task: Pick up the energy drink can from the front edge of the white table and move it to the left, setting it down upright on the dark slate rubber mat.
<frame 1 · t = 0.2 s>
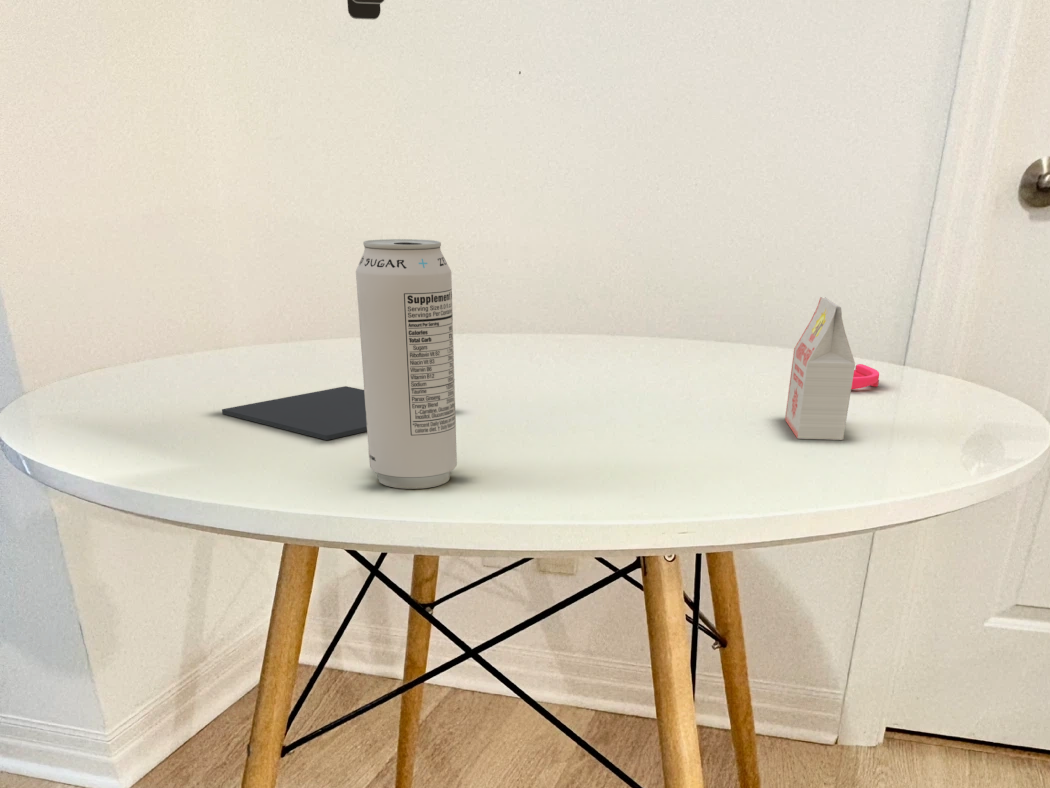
hand: (366, 11, 66), 28 cm above the table, tool pointing down, fingers open, 8 cm apart
energy drink can: (414, 481, 70), on the table
milk carton: (812, 431, 85), on the table
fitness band: (843, 385, 103), on the table
slate mat: (337, 413, 88), on the table
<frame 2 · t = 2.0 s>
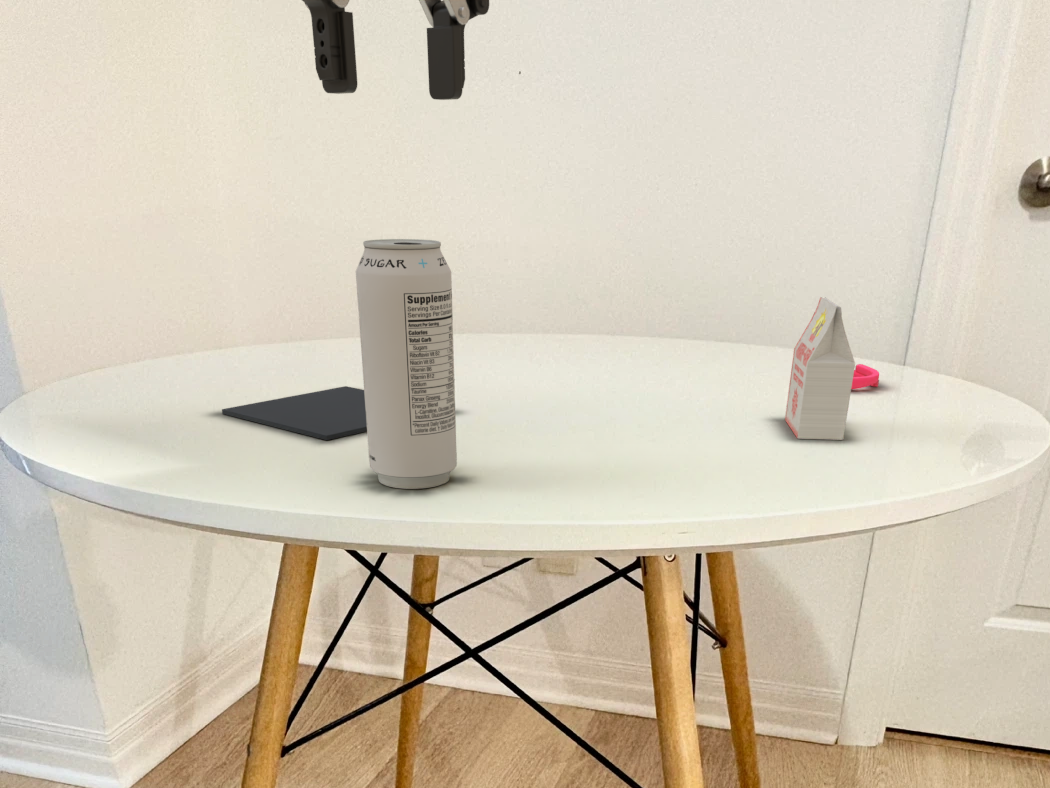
hand: (395, 96, 59), 23 cm above the table, tool pointing down, fingers open, 8 cm apart
nothing on the table moved.
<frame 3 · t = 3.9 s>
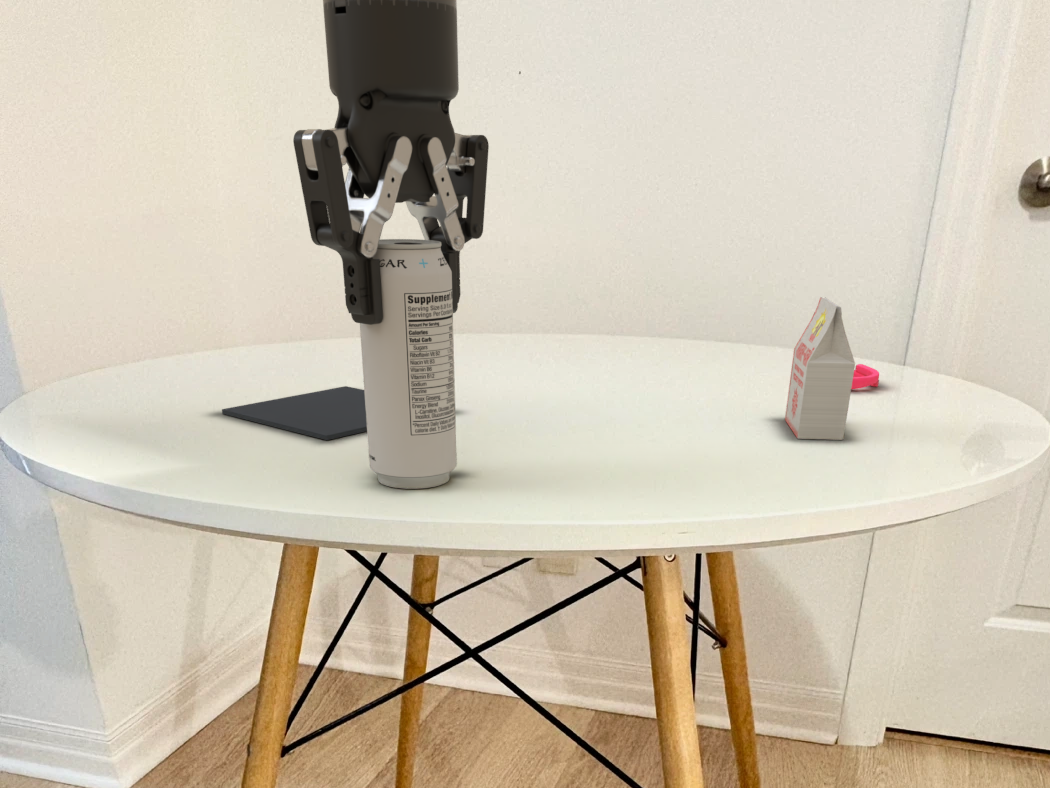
hand: (405, 316, 65), 11 cm above the table, tool pointing down, fingers closed on energy drink can, 6 cm apart
energy drink can: (414, 481, 70), on the table, touching gripper
everything else where it was.
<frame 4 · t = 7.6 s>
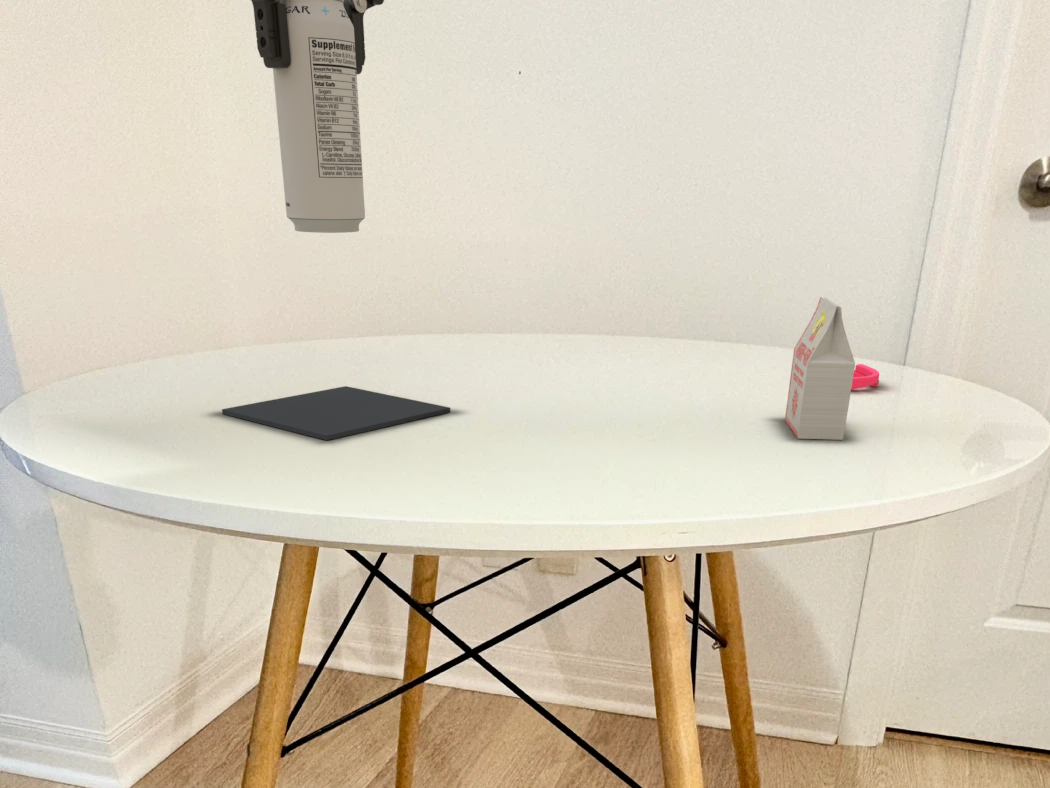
hand: (314, 70, 73), 25 cm above the table, tool pointing down, fingers closed on energy drink can, 6 cm apart
energy drink can: (327, 233, 79), point 14 cm above the table, touching gripper
everything else where it was.
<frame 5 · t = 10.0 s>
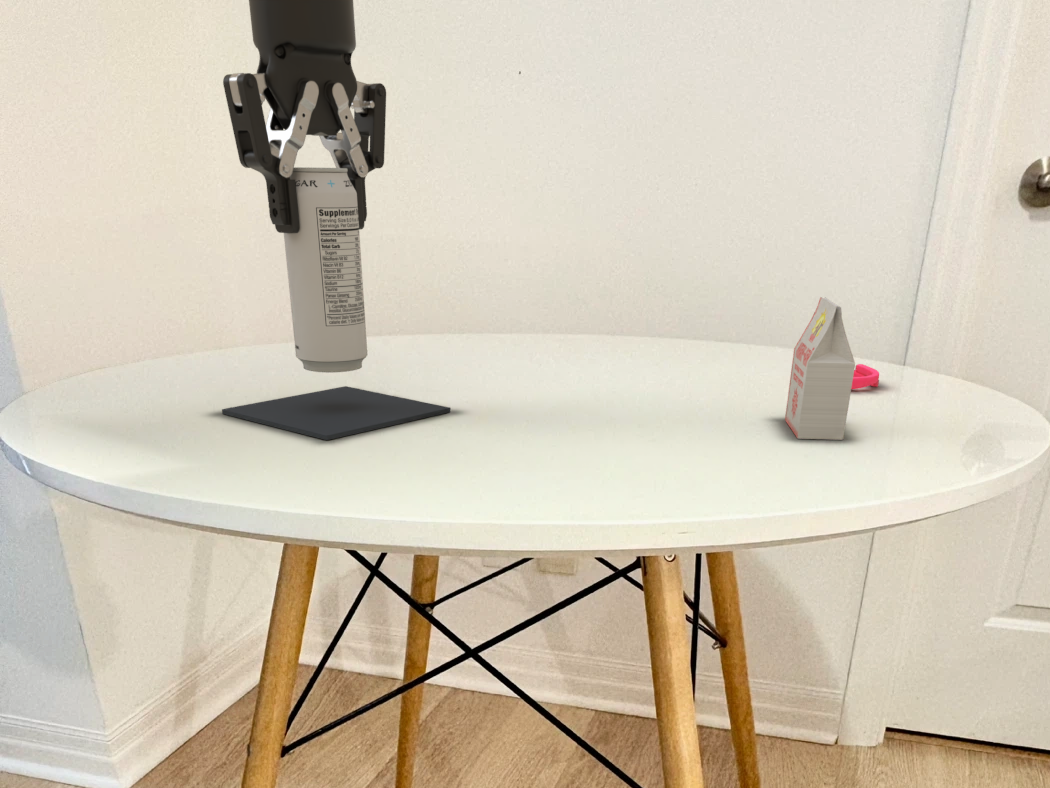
hand: (320, 230, 81), 14 cm above the table, tool pointing down, fingers closed on energy drink can, 6 cm apart
energy drink can: (333, 369, 86), point 4 cm above the table, touching gripper
everything else where it was.
when the fingers open (11 cm above the table, at t = 11.5 s): energy drink can stays where it is, resting on slate mat.
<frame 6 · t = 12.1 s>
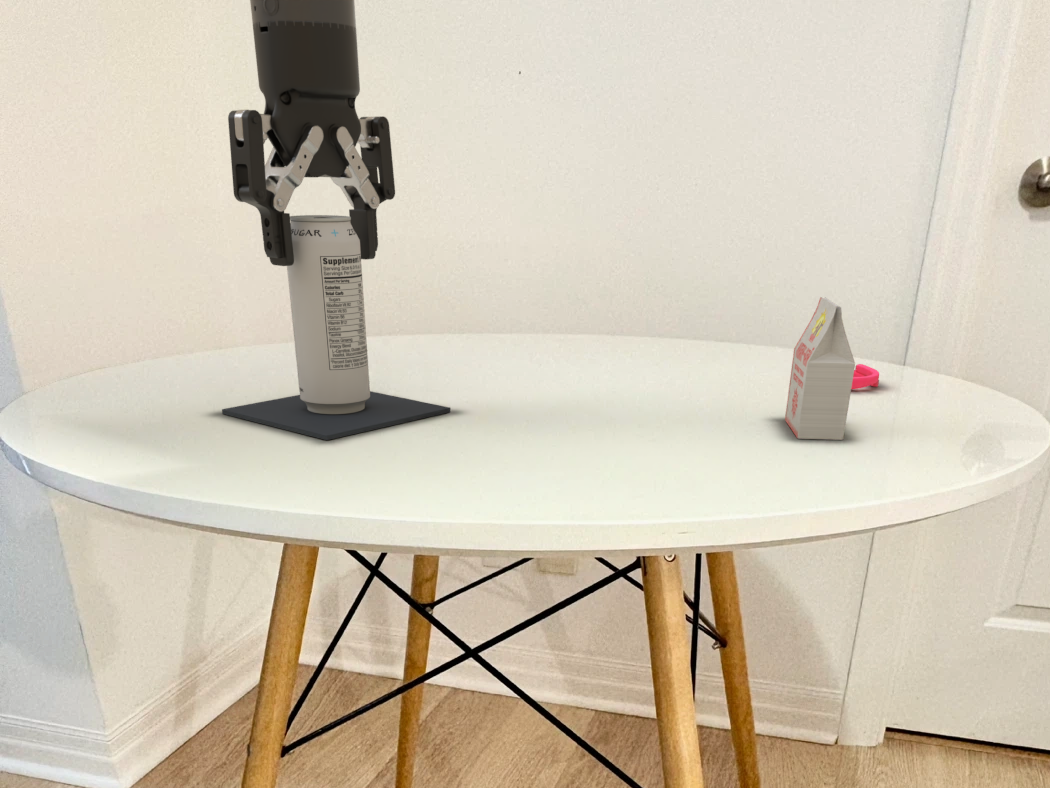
hand: (324, 262, 82), 12 cm above the table, tool pointing down, fingers open, 8 cm apart
energy drink can: (336, 410, 88), resting on slate mat
everything else where it was.
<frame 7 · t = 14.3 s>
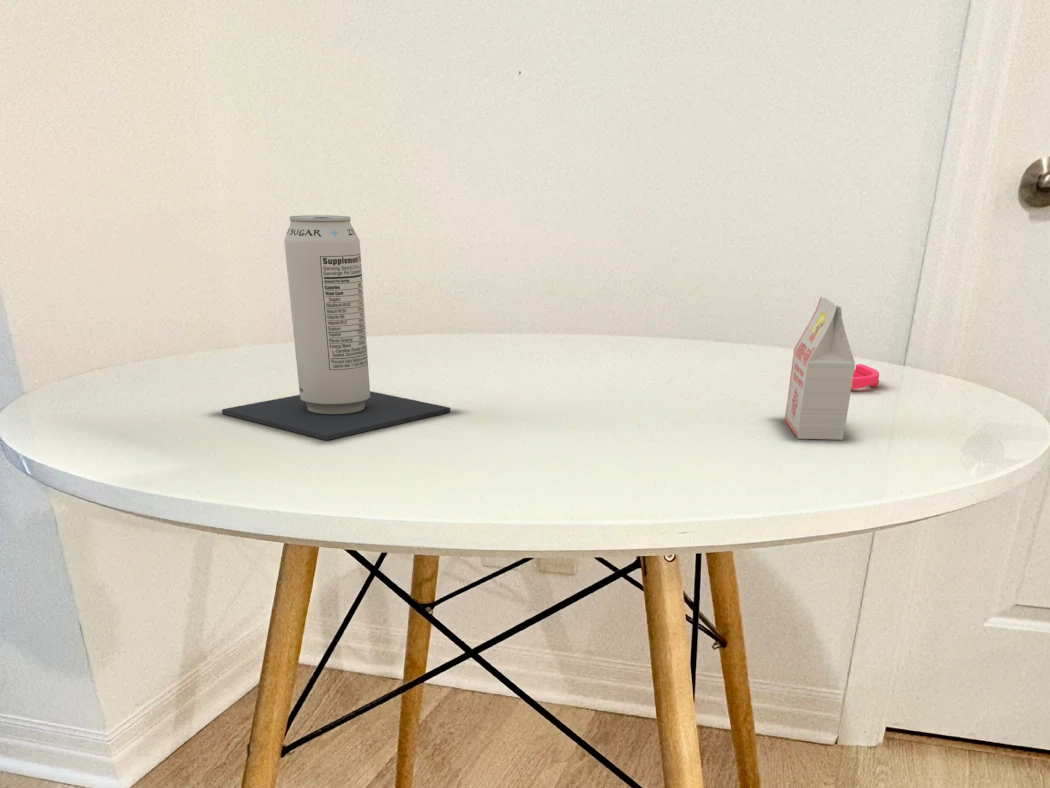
nothing on the table moved.
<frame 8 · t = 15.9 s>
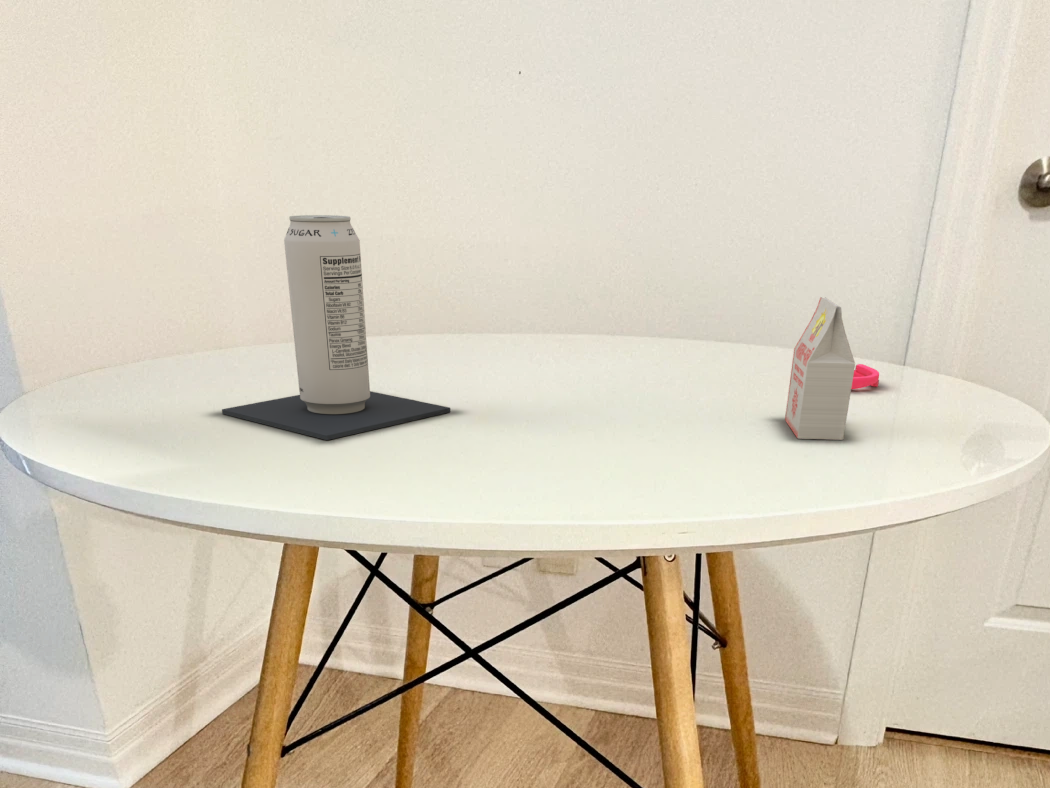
nothing on the table moved.
at the end: energy drink can inside the target area on the slate mat (0.1 cm from its centre), point 0.2 cm above the slate mat's base; energy drink can tilted 0°; energy drink can moved 22.4 cm from its start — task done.
